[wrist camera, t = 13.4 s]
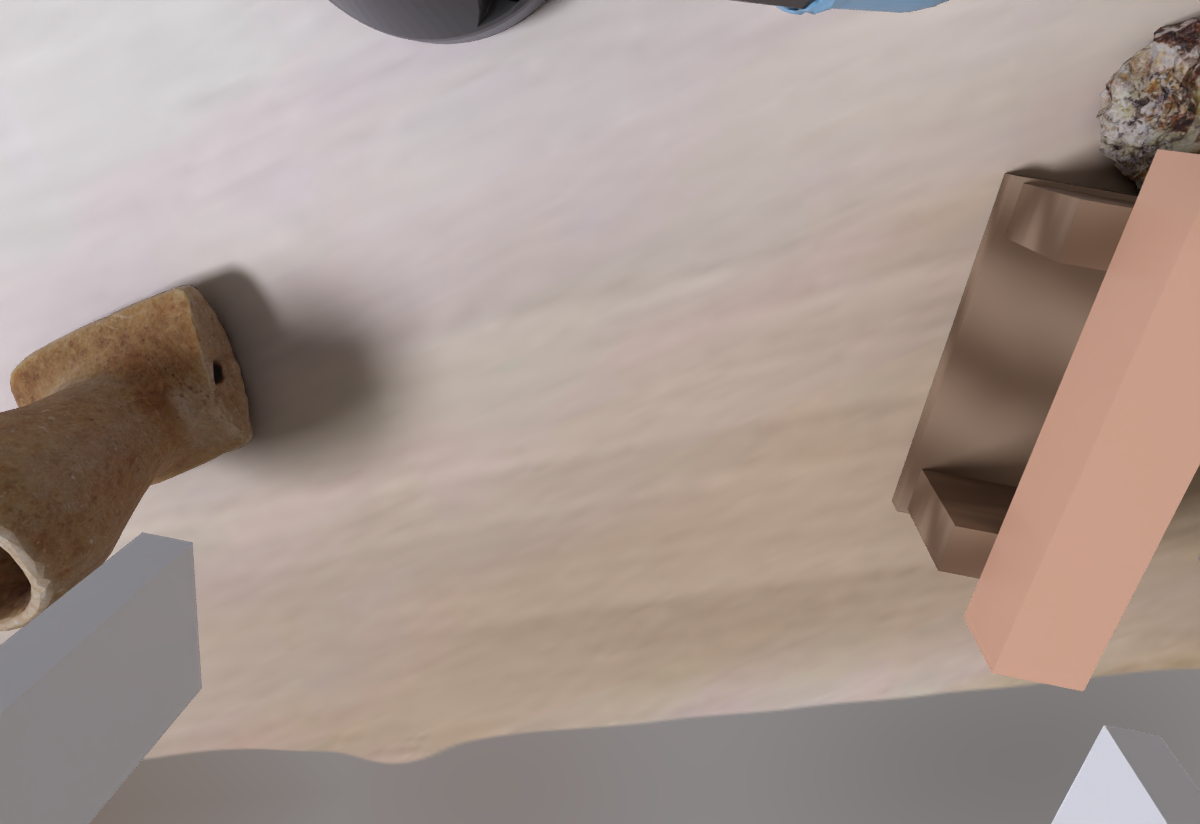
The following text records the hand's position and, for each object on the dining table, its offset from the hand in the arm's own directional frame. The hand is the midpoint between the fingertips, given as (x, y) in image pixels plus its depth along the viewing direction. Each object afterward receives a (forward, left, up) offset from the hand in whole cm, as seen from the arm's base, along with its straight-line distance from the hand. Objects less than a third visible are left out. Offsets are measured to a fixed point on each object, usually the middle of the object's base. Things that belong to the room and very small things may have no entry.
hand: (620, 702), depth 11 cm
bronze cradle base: (+2, +19, -32) cm, 37 cm away
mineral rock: (-11, +22, -32) cm, 41 cm away
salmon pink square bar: (+2, +19, -24) cm, 31 cm away
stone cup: (+14, -29, -32) cm, 45 cm away
